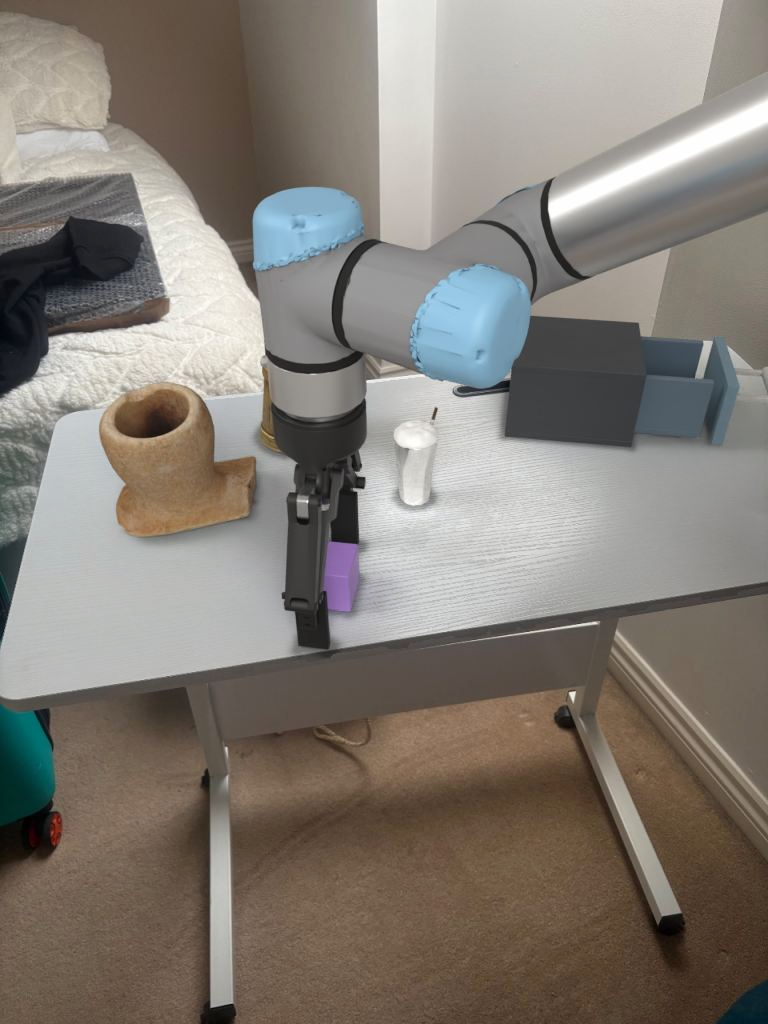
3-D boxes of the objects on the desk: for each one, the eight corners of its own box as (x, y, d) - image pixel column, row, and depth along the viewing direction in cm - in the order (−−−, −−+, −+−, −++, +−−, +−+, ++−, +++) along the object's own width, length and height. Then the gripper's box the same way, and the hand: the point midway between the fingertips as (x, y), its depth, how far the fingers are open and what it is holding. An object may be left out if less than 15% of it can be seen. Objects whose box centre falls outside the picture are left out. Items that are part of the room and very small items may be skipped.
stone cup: (119, 564, 82) (82, 438, 72) (119, 492, 91) (86, 372, 81) (271, 539, 84) (256, 414, 75) (257, 471, 93) (241, 352, 84)
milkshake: (449, 493, 90) (453, 415, 84) (415, 515, 87) (416, 436, 81) (419, 475, 93) (421, 398, 86) (385, 496, 90) (384, 418, 83)
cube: (359, 578, 80) (358, 543, 77) (350, 612, 76) (348, 577, 74) (314, 573, 80) (311, 539, 78) (303, 606, 77) (299, 571, 74)
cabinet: (624, 391, 106) (638, 322, 100) (630, 447, 96) (646, 374, 90) (510, 382, 108) (516, 314, 102) (504, 436, 98) (511, 365, 92)
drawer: (758, 397, 103) (776, 340, 98) (776, 450, 94) (797, 390, 89) (598, 385, 105) (608, 329, 100) (601, 435, 97) (612, 376, 92)
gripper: (308, 322, 75) (321, 504, 88) (222, 490, 56) (255, 690, 69) (391, 328, 74) (391, 511, 87) (330, 501, 55) (343, 701, 68)
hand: (330, 591), depth 78 cm, fingers open, 13 cm apart
